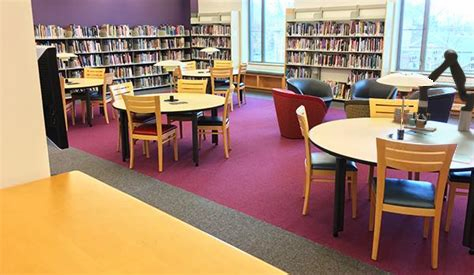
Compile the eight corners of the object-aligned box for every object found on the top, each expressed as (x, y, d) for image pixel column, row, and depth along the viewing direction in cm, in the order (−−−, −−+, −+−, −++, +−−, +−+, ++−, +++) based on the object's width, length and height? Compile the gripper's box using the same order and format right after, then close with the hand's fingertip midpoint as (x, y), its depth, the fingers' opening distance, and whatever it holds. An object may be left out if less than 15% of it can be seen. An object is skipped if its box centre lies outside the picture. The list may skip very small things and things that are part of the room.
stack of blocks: (416, 123, 384) (417, 110, 381) (411, 124, 381) (412, 111, 378) (397, 119, 402) (399, 107, 399) (393, 120, 399) (394, 107, 397)
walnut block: (417, 126, 366) (418, 119, 365) (424, 127, 362) (425, 120, 361) (415, 127, 361) (416, 120, 360) (422, 128, 358) (423, 121, 356)
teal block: (411, 124, 379) (411, 118, 377) (418, 125, 375) (418, 119, 374) (409, 125, 374) (410, 119, 373) (416, 126, 371) (417, 120, 369)
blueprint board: (407, 125, 374) (408, 124, 374) (436, 129, 360) (436, 127, 359) (403, 127, 365) (403, 126, 364) (432, 131, 350) (433, 130, 350)
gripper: (432, 106, 356) (430, 125, 360) (415, 104, 365) (413, 122, 368) (430, 107, 350) (428, 126, 354) (412, 105, 359) (410, 124, 363)
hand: (420, 124), depth 361 cm, fingers open, 7 cm apart
